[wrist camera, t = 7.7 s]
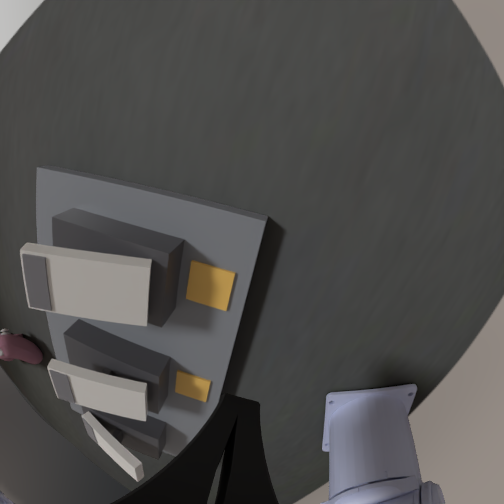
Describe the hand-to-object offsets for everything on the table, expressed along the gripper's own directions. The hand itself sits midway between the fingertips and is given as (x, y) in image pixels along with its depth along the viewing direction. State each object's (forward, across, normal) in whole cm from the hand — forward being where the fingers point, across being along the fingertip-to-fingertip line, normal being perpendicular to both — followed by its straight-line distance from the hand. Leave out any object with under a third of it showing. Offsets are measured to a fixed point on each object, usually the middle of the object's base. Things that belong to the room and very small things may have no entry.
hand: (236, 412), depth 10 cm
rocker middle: (+5, +10, +10) cm, 15 cm away
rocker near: (+5, +10, 0) cm, 11 cm away
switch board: (+10, +10, +10) cm, 18 cm away
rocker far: (+5, +10, +20) cm, 23 cm away
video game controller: (+11, +28, +18) cm, 35 cm away
